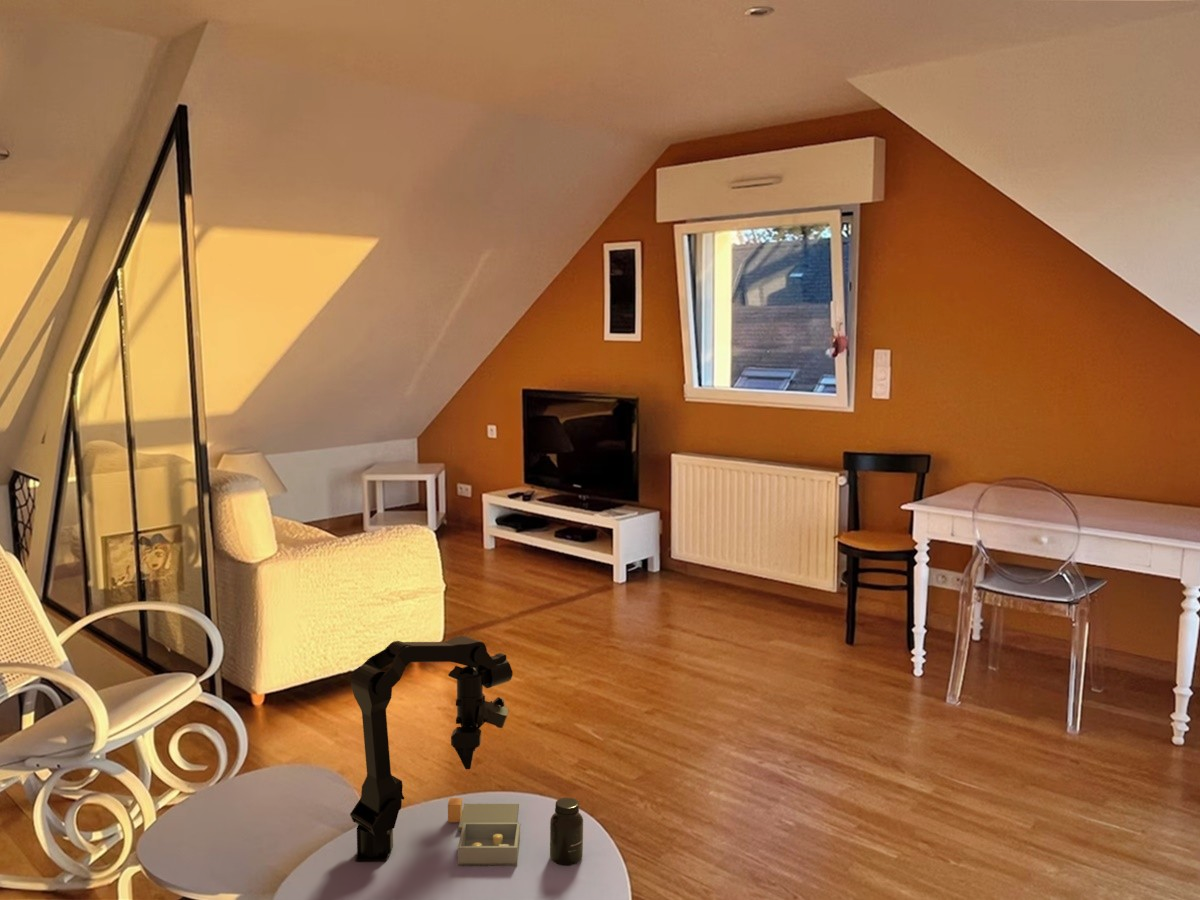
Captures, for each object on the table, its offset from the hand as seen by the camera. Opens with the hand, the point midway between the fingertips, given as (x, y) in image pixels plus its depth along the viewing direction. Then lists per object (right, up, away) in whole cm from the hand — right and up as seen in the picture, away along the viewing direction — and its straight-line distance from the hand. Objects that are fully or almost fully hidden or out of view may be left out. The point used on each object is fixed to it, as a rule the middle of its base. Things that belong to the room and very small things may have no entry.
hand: (470, 759), depth 213 cm
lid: (+3, -13, -3) cm, 14 cm away
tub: (+6, -14, -16) cm, 22 cm away
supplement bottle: (+22, -15, -18) cm, 32 cm away
